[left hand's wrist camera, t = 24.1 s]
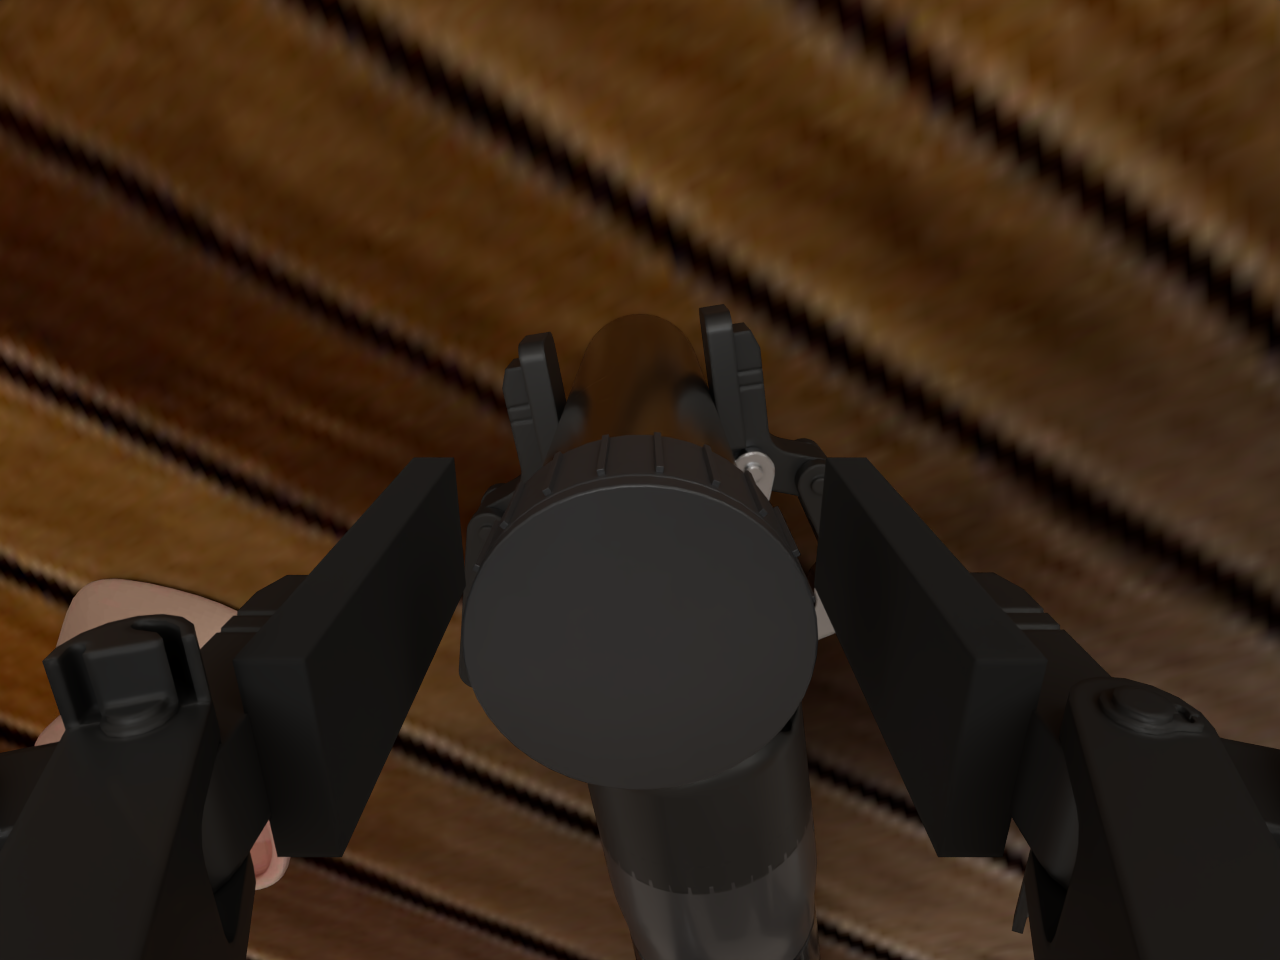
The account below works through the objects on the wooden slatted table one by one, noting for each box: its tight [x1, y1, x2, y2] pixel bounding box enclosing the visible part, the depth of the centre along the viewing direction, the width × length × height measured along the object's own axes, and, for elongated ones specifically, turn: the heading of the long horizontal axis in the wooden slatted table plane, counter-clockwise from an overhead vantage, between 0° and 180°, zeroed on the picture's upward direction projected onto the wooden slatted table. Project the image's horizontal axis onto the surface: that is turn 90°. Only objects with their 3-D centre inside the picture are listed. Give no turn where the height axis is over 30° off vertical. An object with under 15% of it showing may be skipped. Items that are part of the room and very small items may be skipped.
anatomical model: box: [35, 579, 290, 890], centre depth 30 cm, size 13×4×12 cm
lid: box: [462, 432, 818, 790], centre depth 11 cm, size 5×5×2 cm
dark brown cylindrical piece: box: [542, 314, 738, 467], centre depth 19 cm, size 4×4×17 cm
